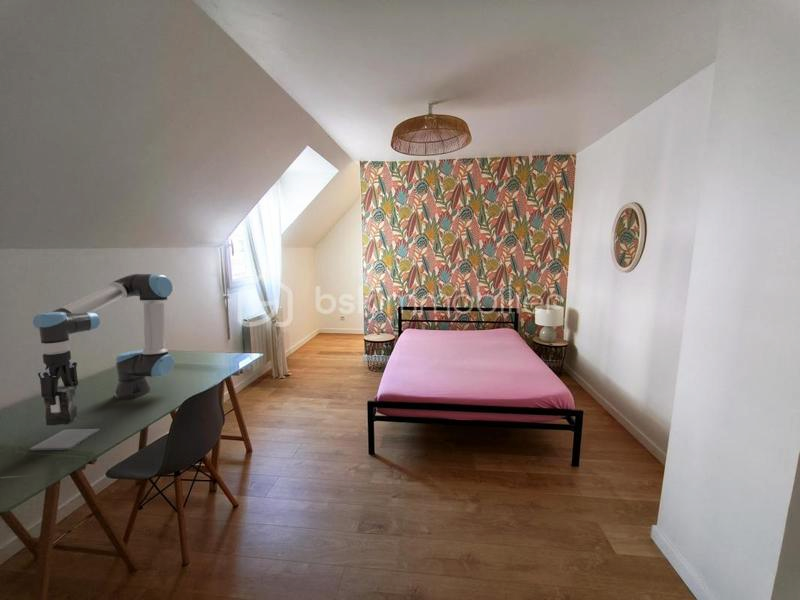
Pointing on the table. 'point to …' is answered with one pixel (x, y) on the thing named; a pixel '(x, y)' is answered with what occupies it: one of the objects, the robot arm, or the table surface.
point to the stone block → (62, 407)
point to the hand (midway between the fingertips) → (63, 408)
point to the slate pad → (65, 439)
